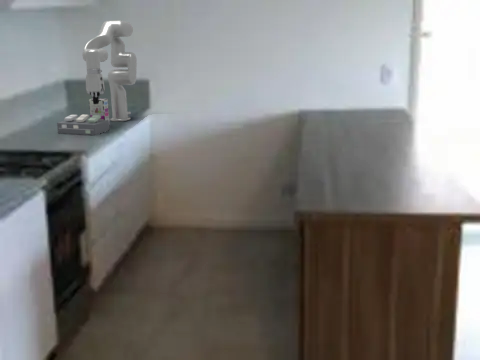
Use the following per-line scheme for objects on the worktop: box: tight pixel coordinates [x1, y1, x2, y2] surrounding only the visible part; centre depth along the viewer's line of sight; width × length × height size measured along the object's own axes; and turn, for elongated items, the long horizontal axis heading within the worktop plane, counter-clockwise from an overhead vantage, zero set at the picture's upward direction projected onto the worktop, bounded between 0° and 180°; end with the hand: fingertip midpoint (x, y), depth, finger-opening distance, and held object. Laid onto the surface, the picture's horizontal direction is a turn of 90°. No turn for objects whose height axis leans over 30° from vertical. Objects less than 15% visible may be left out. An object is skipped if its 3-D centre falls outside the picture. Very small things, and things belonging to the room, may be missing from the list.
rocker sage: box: [87, 115, 101, 123], centre depth 403 cm, size 7×4×2 cm, turn 157°
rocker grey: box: [63, 114, 79, 121], centre depth 409 cm, size 7×4×2 cm, turn 157°
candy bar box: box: [88, 98, 111, 127], centre depth 423 cm, size 11×5×16 cm, turn 62°
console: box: [56, 118, 110, 136], centre depth 407 cm, size 14×26×7 cm, turn 67°
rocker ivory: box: [76, 113, 90, 122], centre depth 406 cm, size 7×4×2 cm, turn 157°
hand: (96, 103), depth 404 cm, fingers closed
